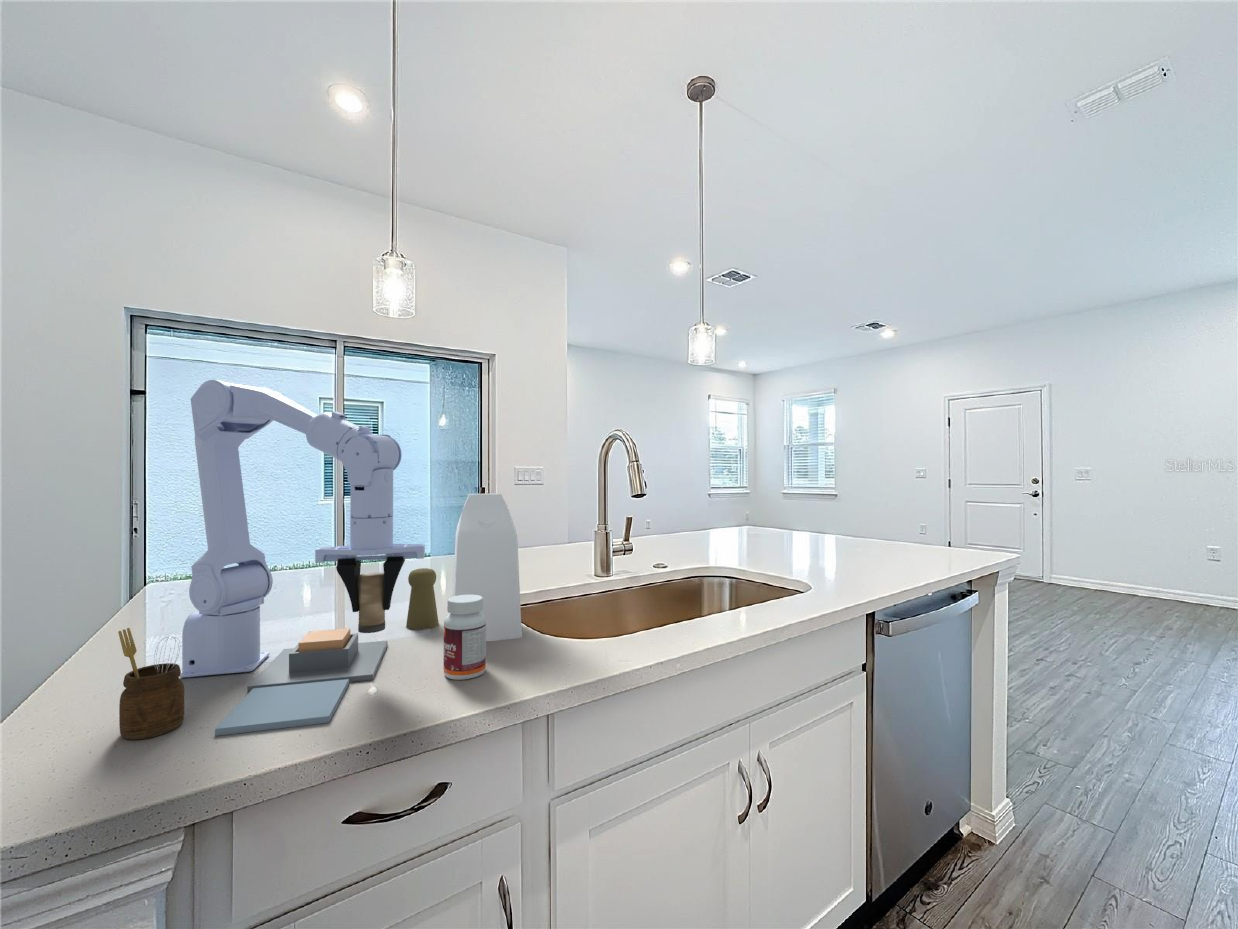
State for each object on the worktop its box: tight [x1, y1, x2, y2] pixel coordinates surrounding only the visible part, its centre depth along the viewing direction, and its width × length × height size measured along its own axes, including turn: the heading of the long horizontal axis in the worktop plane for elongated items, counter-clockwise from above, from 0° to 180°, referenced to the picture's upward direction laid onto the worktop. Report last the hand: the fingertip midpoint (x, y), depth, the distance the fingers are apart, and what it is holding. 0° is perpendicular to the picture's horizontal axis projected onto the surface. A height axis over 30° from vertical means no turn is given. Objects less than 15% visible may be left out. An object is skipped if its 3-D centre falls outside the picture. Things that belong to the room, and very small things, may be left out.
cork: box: [405, 567, 440, 631], centre depth 108 cm, size 6×6×11 cm
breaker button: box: [297, 628, 351, 652], centre depth 86 cm, size 6×6×2 cm
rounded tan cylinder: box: [357, 571, 386, 634], centre depth 80 cm, size 4×4×8 cm
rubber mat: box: [214, 679, 350, 737], centre depth 71 cm, size 12×12×1 cm
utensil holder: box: [117, 627, 185, 741], centre depth 66 cm, size 6×6×12 cm
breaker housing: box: [247, 632, 388, 693], centre depth 86 cm, size 16×16×4 cm
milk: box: [452, 492, 523, 642], centre depth 104 cm, size 12×12×26 cm
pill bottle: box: [443, 595, 487, 681], centre depth 83 cm, size 6×6×11 cm
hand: (371, 609), depth 80 cm, fingers closed on rounded tan cylinder, 3 cm apart
